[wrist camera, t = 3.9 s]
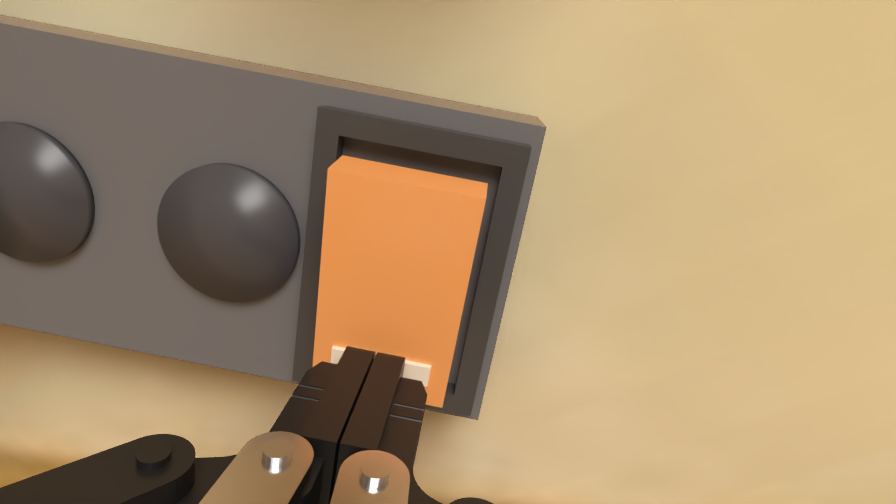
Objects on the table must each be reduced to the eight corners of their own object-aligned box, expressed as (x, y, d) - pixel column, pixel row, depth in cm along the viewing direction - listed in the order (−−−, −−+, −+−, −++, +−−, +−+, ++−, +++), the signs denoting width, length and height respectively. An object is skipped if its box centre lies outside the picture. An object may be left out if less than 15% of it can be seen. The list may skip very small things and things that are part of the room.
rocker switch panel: (-153, -15, 17) (-315, -35, 14) (537, 116, 17) (548, 129, 13) (-107, 251, 20) (-230, 289, 17) (480, 368, 20) (477, 432, 16)
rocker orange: (342, 155, 13) (325, 170, 12) (488, 183, 13) (485, 200, 12) (324, 355, 16) (309, 384, 14) (446, 380, 16) (441, 411, 14)
